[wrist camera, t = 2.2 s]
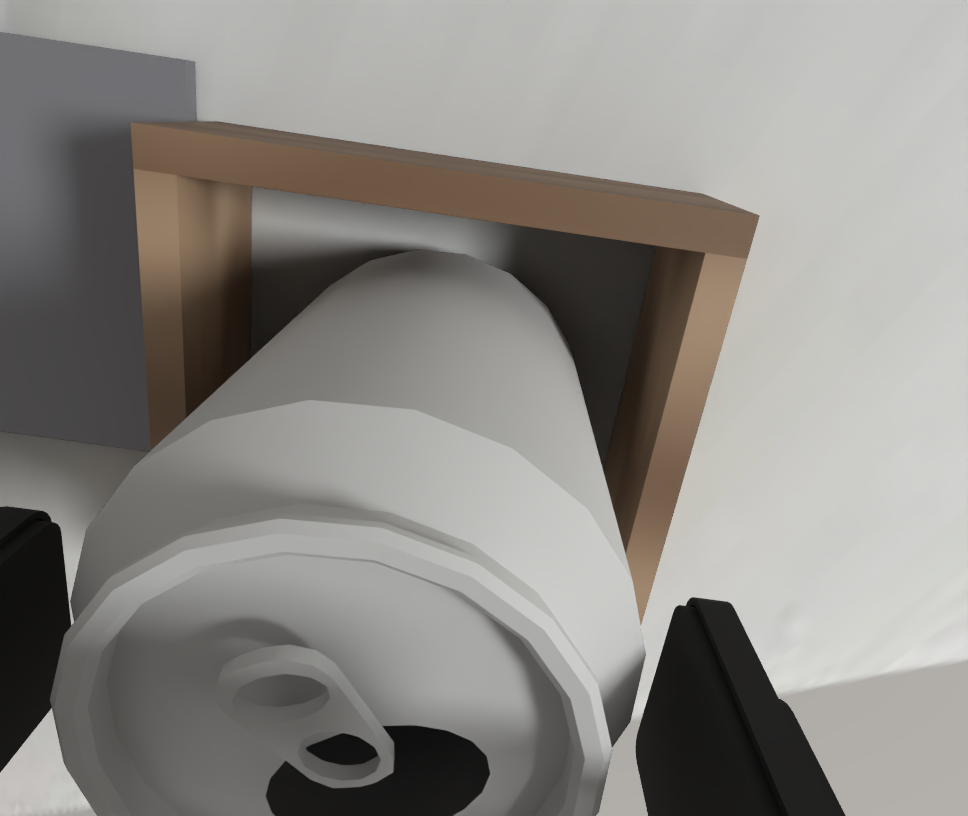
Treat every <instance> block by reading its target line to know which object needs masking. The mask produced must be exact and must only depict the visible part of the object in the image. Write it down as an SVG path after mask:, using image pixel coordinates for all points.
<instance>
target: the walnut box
mask: <svg viewBox="0 0 968 816" xmlns="http://www.w3.org/2000/svg"><path fill="white" fill-rule="evenodd" d="M131 138H132V154H133V170H134V186H135V202H136V218H137V234H138V250H139V266H140V282H141V298H142V314H143V330H144V346H145V362H146V378H147V394H148V410H149V426H150V442H151V450H152V449H153V448H154V447H155V446H157V445H158V444H159V443H160V442H161V441H162V440H163V439H164V438H165V437H166V436H167V435H168V434H170V433H171V432H172V431H173V430H174V429H175V428H176V427H177V426H178V425H179V424H180V423H181V422H183V421H184V420H185V419H186V418H187V417H188V416H189V415H190V414H191V413H192V412H193V411H194V410H196V409H197V408H198V407H199V406H200V405H201V404H202V403H203V402H204V401H205V400H206V399H207V398H209V397H210V396H211V395H212V394H213V393H214V392H215V391H216V390H217V389H218V388H219V387H220V386H222V385H223V384H224V383H225V382H226V381H227V380H228V379H229V378H230V377H231V376H232V375H233V374H235V373H236V372H237V371H238V370H239V369H240V368H241V367H242V366H243V365H244V364H245V363H246V362H248V361H249V360H250V359H251V199H252V186H254V187H261V188H268V189H274V190H281V191H288V192H295V193H302V194H308V195H315V196H322V197H329V198H336V199H342V200H349V201H356V202H363V203H370V204H376V205H383V206H390V207H397V208H404V209H411V210H417V211H424V212H431V213H438V214H445V215H451V216H458V217H465V218H472V219H479V220H485V221H492V222H499V223H506V224H513V225H519V226H526V227H533V228H540V229H547V230H554V231H560V232H567V233H574V234H581V235H588V236H594V237H601V238H608V239H615V240H622V241H628V242H635V243H642V244H649V245H656V250H655V254H654V258H653V263H652V267H651V271H650V275H649V280H648V284H647V288H646V292H645V297H644V301H643V305H642V309H641V314H640V318H639V322H638V326H637V331H636V335H635V339H634V343H633V348H632V352H631V356H630V360H629V365H628V369H627V373H626V377H625V382H624V386H623V390H622V394H621V399H620V403H619V407H618V411H617V415H616V420H615V424H614V428H613V432H612V437H611V441H610V445H609V449H608V454H607V458H606V462H605V466H604V471H603V472H604V476H605V480H606V483H607V487H608V491H609V495H610V498H611V502H612V506H613V509H614V513H615V517H616V521H617V524H618V528H619V532H620V536H621V539H622V543H623V547H624V551H625V554H626V558H627V562H628V566H629V569H630V573H631V577H632V581H633V586H634V592H635V597H636V603H637V608H638V614H639V619H640V625H641V623H642V620H643V616H644V613H645V609H646V606H647V603H648V599H649V596H650V592H651V589H652V585H653V582H654V578H655V575H656V572H657V568H658V565H659V561H660V558H661V554H662V551H663V547H664V544H665V540H666V537H667V534H668V530H669V527H670V523H671V520H672V516H673V513H674V509H675V506H676V503H677V499H678V496H679V492H680V489H681V485H682V482H683V478H684V475H685V471H686V468H687V465H688V461H689V458H690V454H691V451H692V447H693V444H694V440H695V437H696V434H697V430H698V427H699V423H700V420H701V416H702V413H703V409H704V406H705V402H706V399H707V396H708V392H709V389H710V385H711V382H712V378H713V375H714V371H715V368H716V365H717V361H718V358H719V354H720V351H721V347H722V344H723V340H724V337H725V333H726V330H727V327H728V323H729V320H730V316H731V313H732V309H733V306H734V302H735V299H736V296H737V292H738V289H739V285H740V282H741V278H742V275H743V271H744V268H745V264H746V261H747V258H748V254H749V251H750V247H751V244H752V240H753V237H754V233H755V230H756V227H757V223H758V220H759V215H756V214H754V213H751V212H748V211H746V210H743V209H741V208H738V207H736V206H733V205H730V204H728V203H725V202H723V201H720V200H717V199H715V198H712V197H710V196H707V195H704V194H700V193H694V192H687V191H680V190H674V189H667V188H660V187H653V186H647V185H640V184H633V183H626V182H620V181H613V180H606V179H600V178H593V177H586V176H579V175H573V174H566V173H559V172H553V171H546V170H539V169H532V168H526V167H519V166H512V165H506V164H499V163H492V162H485V161H479V160H472V159H465V158H459V157H452V156H445V155H438V154H432V153H425V152H418V151H412V150H405V149H398V148H391V147H385V146H378V145H371V144H364V143H358V142H351V141H344V140H338V139H331V138H324V137H317V136H311V135H304V134H297V133H291V132H284V131H277V130H270V129H264V128H257V127H250V126H244V125H237V124H230V123H223V122H131Z"/></svg>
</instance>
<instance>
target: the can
mask: <svg viewBox="0 0 968 816" xmlns="http://www.w3.org/2000/svg"><path fill="white" fill-rule="evenodd" d="M70 602H71V608H72V613H73V618H74V623H73V624H72V626H71V627H70V628H69V630H68V631H67V632H66V633H65V635H64V638H63V643H62V647H61V652H60V656H59V661H58V665H57V670H56V674H55V679H54V683H53V688H52V692H51V697H50V702H51V706H52V711H53V715H54V720H55V724H56V729H57V734H58V738H59V743H60V747H61V752H62V756H63V761H64V764H65V766H66V768H67V770H68V772H69V773H70V775H71V776H72V778H73V779H74V781H75V782H76V784H77V785H78V787H79V788H80V790H81V792H82V793H83V795H84V796H85V798H86V799H87V801H88V802H89V804H90V805H91V807H92V809H93V810H94V812H95V813H96V815H97V816H596V815H597V814H598V812H599V808H600V804H601V800H602V795H603V790H604V786H605V782H606V777H607V772H608V768H609V763H610V759H611V755H612V747H613V746H614V744H615V743H616V741H617V740H618V738H619V737H620V736H621V734H622V733H623V731H624V730H625V728H626V727H627V726H628V724H629V723H630V720H631V716H632V712H633V707H634V703H635V699H636V695H637V690H638V686H639V682H640V677H641V673H642V669H643V664H644V660H645V656H646V653H645V647H644V642H643V636H642V631H641V625H640V619H639V614H638V608H637V603H636V597H635V592H634V586H633V581H632V577H631V573H630V569H629V566H628V562H627V558H626V554H625V551H624V547H623V543H622V539H621V536H620V532H619V528H618V524H617V521H616V517H615V513H614V509H613V506H612V502H611V498H610V495H609V491H608V487H607V483H606V480H605V476H604V472H603V468H602V465H601V461H600V457H599V453H598V450H597V446H596V442H595V438H594V435H593V431H592V427H591V423H590V420H589V416H588V412H587V408H586V405H585V401H584V397H583V394H582V390H581V386H580V382H579V379H578V375H577V371H576V367H575V364H574V360H573V356H572V352H571V349H570V345H569V343H568V342H567V340H566V338H565V336H564V335H563V333H562V331H561V330H560V328H559V326H558V324H557V323H556V321H555V319H554V317H553V316H552V314H551V312H550V310H549V309H548V307H547V305H545V304H544V303H543V302H542V301H541V300H540V299H539V298H537V297H536V296H535V295H534V294H533V293H532V292H531V291H530V290H528V289H527V288H526V287H525V286H524V285H523V284H522V283H521V282H519V281H518V280H517V279H516V278H515V277H514V276H513V275H511V274H510V273H507V272H505V271H503V270H501V269H498V268H496V267H494V266H491V265H489V264H487V263H484V262H482V261H480V260H477V259H475V258H473V257H470V256H468V255H466V254H456V253H445V252H434V251H424V250H414V251H409V252H405V253H401V254H396V255H392V256H388V257H383V258H379V259H375V260H370V261H368V262H367V263H365V264H363V265H362V266H360V267H359V268H357V269H355V270H354V271H352V272H351V273H349V274H347V275H346V276H344V277H343V278H341V279H339V280H338V281H336V282H335V283H333V284H331V285H330V286H329V287H328V288H327V289H326V290H324V291H323V292H322V293H321V294H320V295H319V296H318V297H317V298H316V299H315V300H314V301H313V302H311V303H310V304H309V305H308V306H307V307H306V308H305V309H304V310H303V311H302V312H301V313H300V314H298V315H297V316H296V317H295V318H294V319H293V320H292V321H291V322H290V323H289V324H288V325H287V326H285V327H284V328H283V329H282V330H281V331H280V332H279V333H278V334H277V335H276V336H275V337H274V338H272V339H271V340H270V341H269V342H268V343H267V344H266V345H265V346H264V347H263V348H262V349H261V350H259V351H258V352H257V353H256V354H255V355H254V356H253V357H252V358H251V359H250V360H249V361H248V362H246V363H245V364H244V365H243V366H242V367H241V368H240V369H239V370H238V371H237V372H236V373H235V374H233V375H232V376H231V377H230V378H229V379H228V380H227V381H226V382H225V383H224V384H223V385H222V386H220V387H219V388H218V389H217V390H216V391H215V392H214V393H213V394H212V395H211V396H210V397H209V398H207V399H206V400H205V401H204V402H203V403H202V404H201V405H200V406H199V407H198V408H197V409H196V410H194V411H193V412H192V413H191V414H190V415H189V416H188V417H187V418H186V419H185V420H184V421H183V422H181V423H180V424H179V425H178V426H177V427H176V428H175V429H174V430H173V431H172V432H171V433H170V434H168V435H167V436H166V437H165V438H164V439H163V440H162V441H161V442H160V443H159V444H158V445H157V446H155V447H154V448H153V449H152V450H151V451H150V452H149V453H148V454H147V455H146V456H145V457H144V458H142V459H141V460H140V461H139V462H138V463H137V464H136V465H135V466H134V467H133V468H132V469H131V471H130V472H129V473H128V475H127V476H126V477H125V479H124V480H123V481H122V483H121V484H120V486H119V487H118V488H117V490H116V491H115V492H114V494H113V495H112V496H111V498H110V499H109V500H108V502H107V503H106V504H105V506H104V507H103V508H102V510H101V511H100V512H99V514H98V515H97V516H96V518H95V519H94V520H93V522H92V523H91V524H90V526H89V527H88V528H87V530H86V533H85V537H84V542H83V546H82V551H81V555H80V560H79V564H78V569H77V573H76V578H75V582H74V587H73V591H72V596H71V601H70Z"/></svg>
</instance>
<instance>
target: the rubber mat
mask: <svg viewBox="0 0 968 816" xmlns="http://www.w3.org/2000/svg"><path fill="white" fill-rule="evenodd" d="M131 122H197V120H196V83H195V62H193V61H188V60H182V59H175V58H168V57H162V56H155V55H149V54H142V53H135V52H129V51H122V50H115V49H109V48H102V47H95V46H89V45H82V44H76V43H69V42H62V41H56V40H49V39H42V38H36V37H29V36H22V35H16V34H9V33H3V32H0V431H3V432H10V433H18V434H25V435H32V436H39V437H47V438H54V439H61V440H68V441H76V442H83V443H90V444H98V445H105V446H112V447H119V448H127V449H134V450H141V451H148V452H150V451H151V442H150V426H149V410H148V394H147V378H146V362H145V346H144V330H143V314H142V298H141V282H140V266H139V250H138V234H137V218H136V202H135V186H134V170H133V154H132V138H131Z"/></svg>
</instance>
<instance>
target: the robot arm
mask: <svg viewBox="0 0 968 816" xmlns="http://www.w3.org/2000/svg"><path fill="white" fill-rule="evenodd" d="M70 627H71V620H70V610H69V601H68V592H67V582H66V573H65V564H64V554H63V545H62V536H61V530H60V527H59V526H58V524H56V523H53V522H52V521H51V518H50V516H49V515H48V513H46V512H44V511H38V510H30V509H23V508H15V507H8V506H6V507H0V772H1V771H2V770H3V768H4V767H5V766H6V765H7V763H8V762H9V761H10V760H11V758H12V757H13V756H14V755H15V753H16V752H17V751H18V750H19V748H20V747H21V746H22V744H23V743H24V742H25V741H26V739H27V738H28V737H29V736H30V734H31V733H32V732H33V731H34V729H35V728H36V727H37V726H38V724H39V723H40V722H41V721H42V719H43V718H44V717H45V716H46V714H47V713H48V712H49V710H50V709H51V708H52V706H51V702H50V697H51V692H52V688H53V683H54V679H55V674H56V670H57V665H58V661H59V656H60V652H61V647H62V643H63V638H64V635H65V633H66V632H67V631H68V630H69V628H70ZM636 759H637V764H638V770H639V774H640V779H641V784H642V788H643V793H644V797H645V802H646V807H647V812H648V816H845V814H844V812H843V810H842V808H841V806H840V804H839V802H838V800H837V798H836V796H835V794H834V792H833V790H832V788H831V786H830V784H829V782H828V780H827V778H826V776H825V774H824V772H823V770H822V768H821V766H820V765H819V762H818V760H817V759H816V757H815V755H814V753H813V751H812V749H811V747H810V745H809V743H808V741H807V739H806V737H805V735H804V733H803V731H802V729H801V727H800V725H799V723H798V721H797V719H796V717H795V715H794V713H793V712H792V710H791V709H790V707H789V706H788V704H787V703H785V702H784V701H782V700H781V699H778V697H777V695H776V692H775V690H774V688H773V686H772V684H771V682H770V680H769V678H768V676H767V674H766V672H765V670H764V668H763V666H762V664H761V662H760V660H759V658H758V656H757V654H756V652H755V650H754V648H753V646H752V644H751V642H750V640H749V638H748V636H747V634H746V632H745V630H744V627H743V625H742V623H741V621H740V619H739V617H738V615H737V613H736V611H735V609H734V607H733V606H732V605H731V603H729V602H724V601H717V600H709V599H702V598H694V597H693V598H690V599H689V601H688V602H687V604H686V606H681V605H679V606H677V607H676V608H675V610H674V612H673V616H672V619H671V622H670V626H669V629H668V632H667V636H666V639H665V643H664V646H663V649H662V653H661V656H660V659H659V663H658V666H657V669H656V673H655V676H654V680H653V683H652V686H651V690H650V693H649V696H648V700H647V703H646V707H645V710H644V713H643V717H642V720H641V723H640V727H639V730H638V734H637V739H636Z"/></svg>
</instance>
